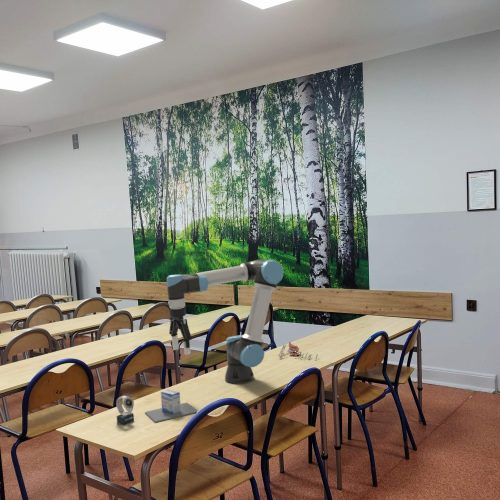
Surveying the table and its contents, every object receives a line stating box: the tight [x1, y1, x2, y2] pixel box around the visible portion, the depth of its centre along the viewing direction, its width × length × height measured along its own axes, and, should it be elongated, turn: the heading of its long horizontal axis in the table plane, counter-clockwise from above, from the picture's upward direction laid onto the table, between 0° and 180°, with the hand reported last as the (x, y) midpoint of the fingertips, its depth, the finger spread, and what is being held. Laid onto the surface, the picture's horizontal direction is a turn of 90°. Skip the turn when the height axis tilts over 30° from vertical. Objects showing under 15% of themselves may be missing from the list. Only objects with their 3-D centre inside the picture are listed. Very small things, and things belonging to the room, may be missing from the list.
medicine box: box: [160, 389, 181, 414], centre depth 233 cm, size 8×4×9 cm, turn 50°
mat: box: [144, 402, 199, 423], centre depth 232 cm, size 20×14×1 cm
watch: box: [116, 395, 135, 426], centre depth 224 cm, size 6×8×11 cm
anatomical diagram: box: [278, 341, 319, 359], centre depth 317 cm, size 21×9×25 cm
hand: (181, 352), depth 249 cm, fingers open, 13 cm apart
